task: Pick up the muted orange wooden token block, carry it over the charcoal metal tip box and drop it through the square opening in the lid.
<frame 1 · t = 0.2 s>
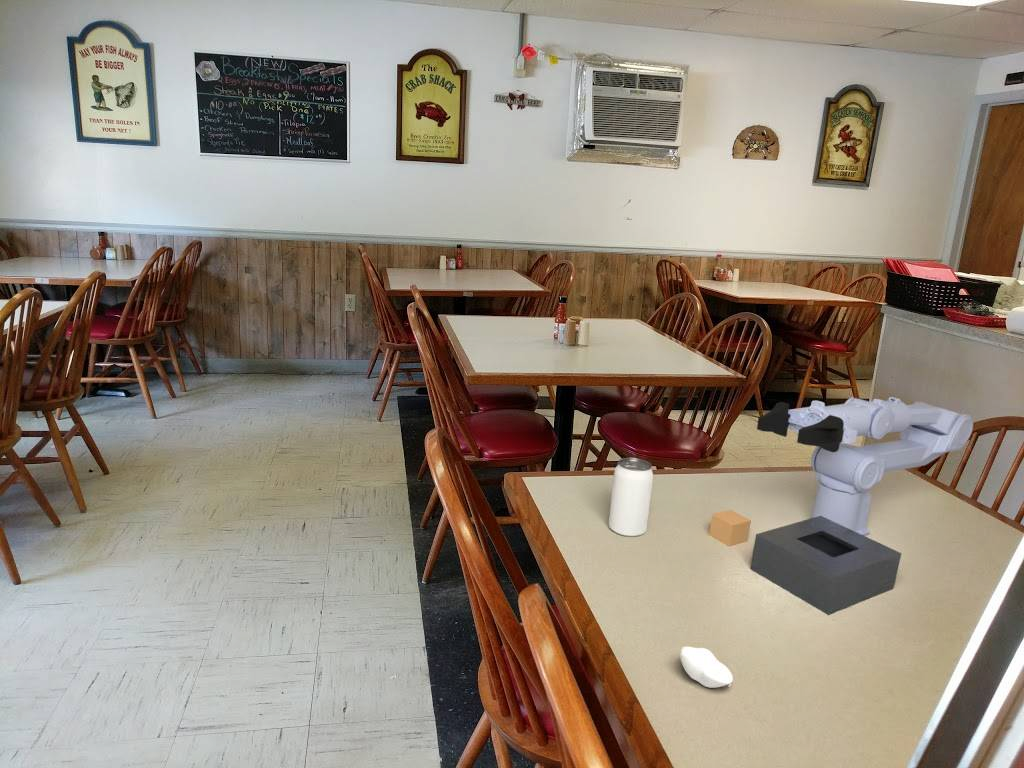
hand: (779, 430, 114), 21 cm above the table, tool horizontal, fingers open, 7 cm apart
token: (728, 538, 124), on the table
dumpling: (703, 682, 87), on the table
can: (627, 530, 124), on the table
tip box: (820, 578, 112), on the table
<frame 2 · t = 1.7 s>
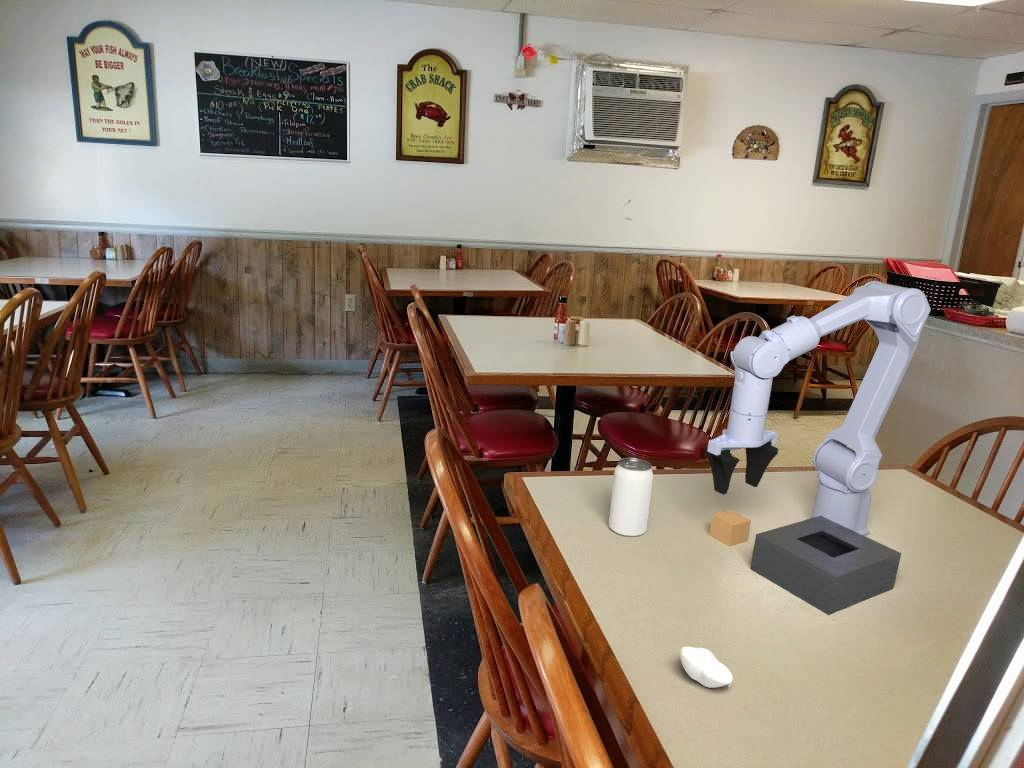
hand: (736, 488, 121), 9 cm above the table, tool pointing down, fingers open, 7 cm apart
nothing on the table moved.
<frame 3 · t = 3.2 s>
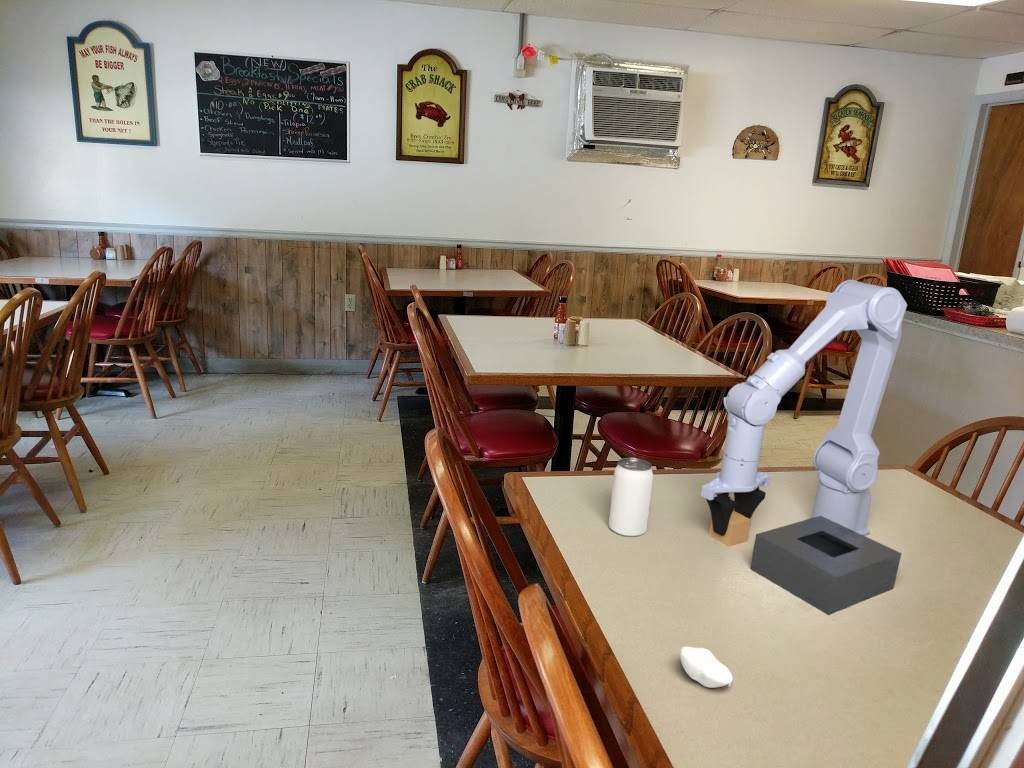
hand: (729, 530, 123), 1 cm above the table, tool pointing down, fingers closed on token, 4 cm apart
token: (728, 538, 124), on the table, touching gripper
everything else where it was.
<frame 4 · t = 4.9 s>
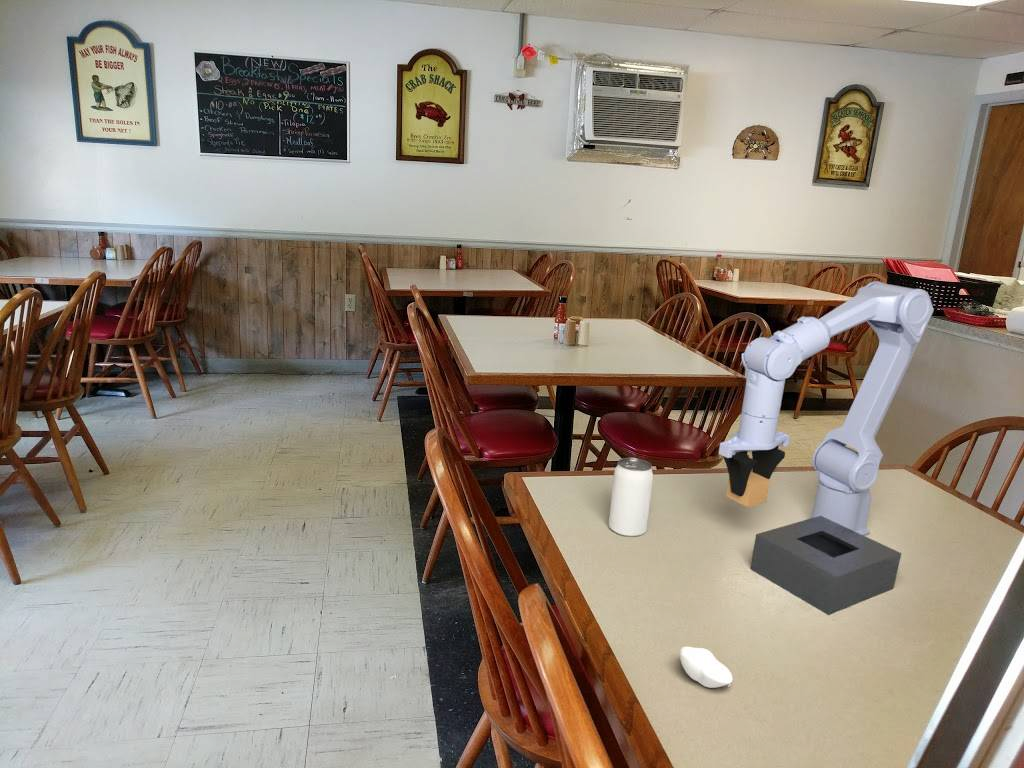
hand: (747, 491, 120), 9 cm above the table, tool pointing down, fingers closed on token, 4 cm apart
token: (746, 499, 120), point 8 cm above the table, touching gripper
everything else where it was.
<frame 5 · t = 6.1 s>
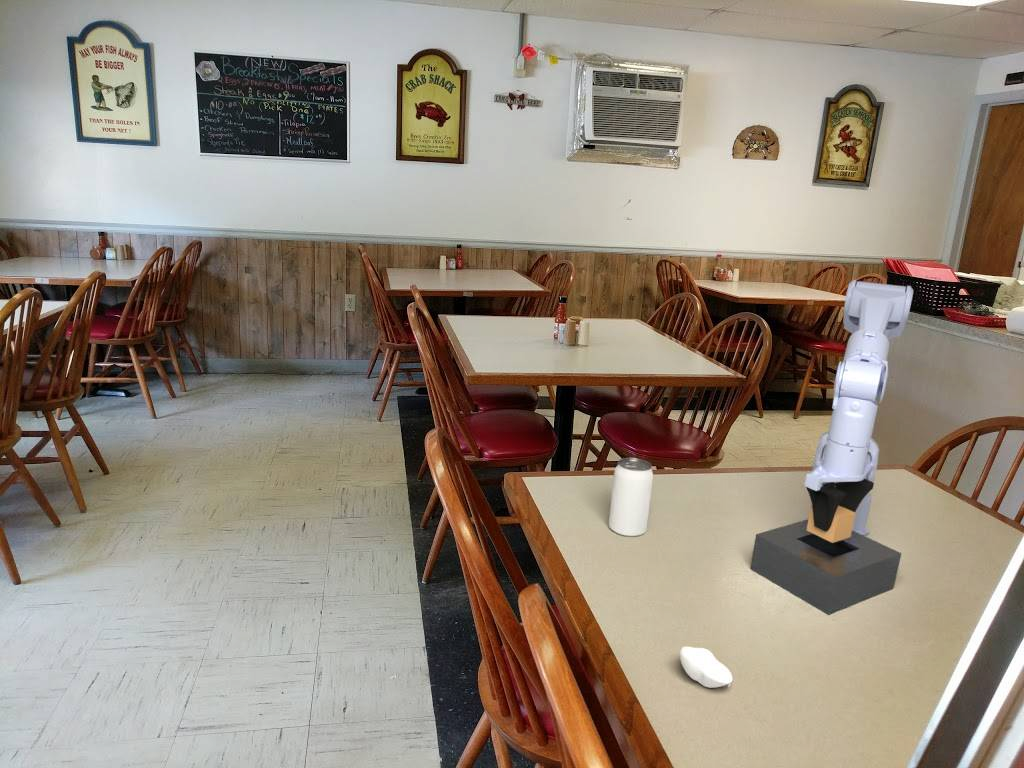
hand: (831, 525, 110), 9 cm above the table, tool pointing down, fingers closed on token, 4 cm apart
token: (828, 533, 110), point 8 cm above the table, touching gripper
everything else where it was.
when the fingers open (8 cm above the table, at t = 6.7 s): token drops 6 cm, resting on tip box.
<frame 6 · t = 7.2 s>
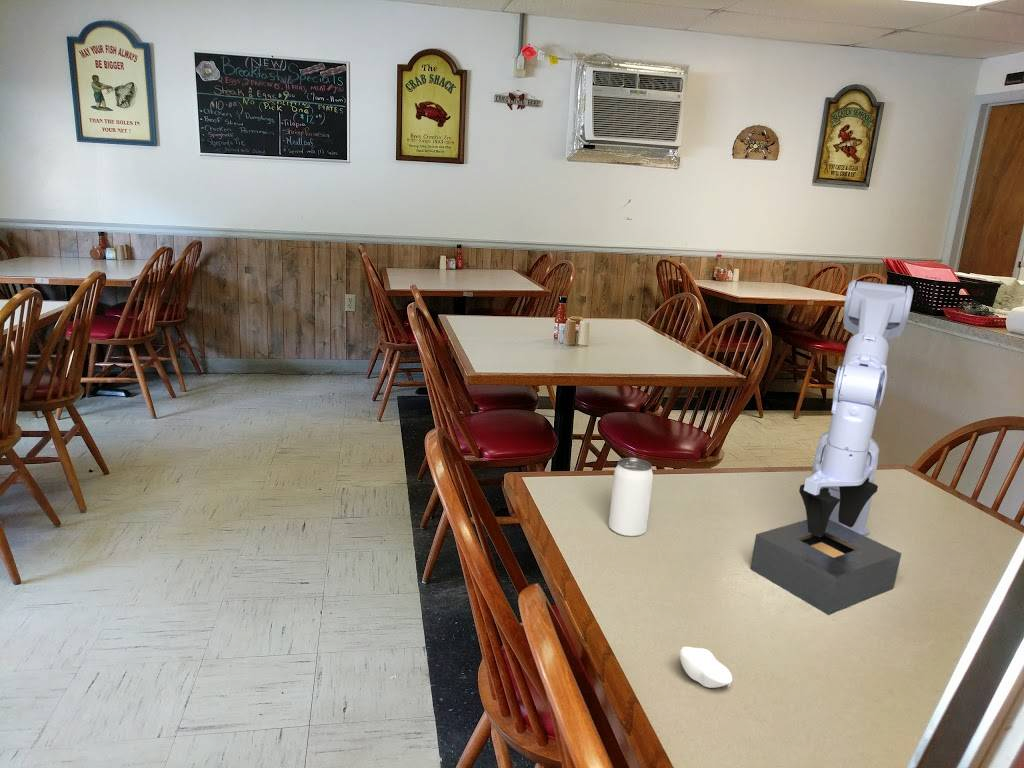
hand: (830, 529, 110), 8 cm above the table, tool pointing down, fingers open, 7 cm apart
token: (820, 574, 112), point 1 cm above the table, touching tip box
everything else where it was.
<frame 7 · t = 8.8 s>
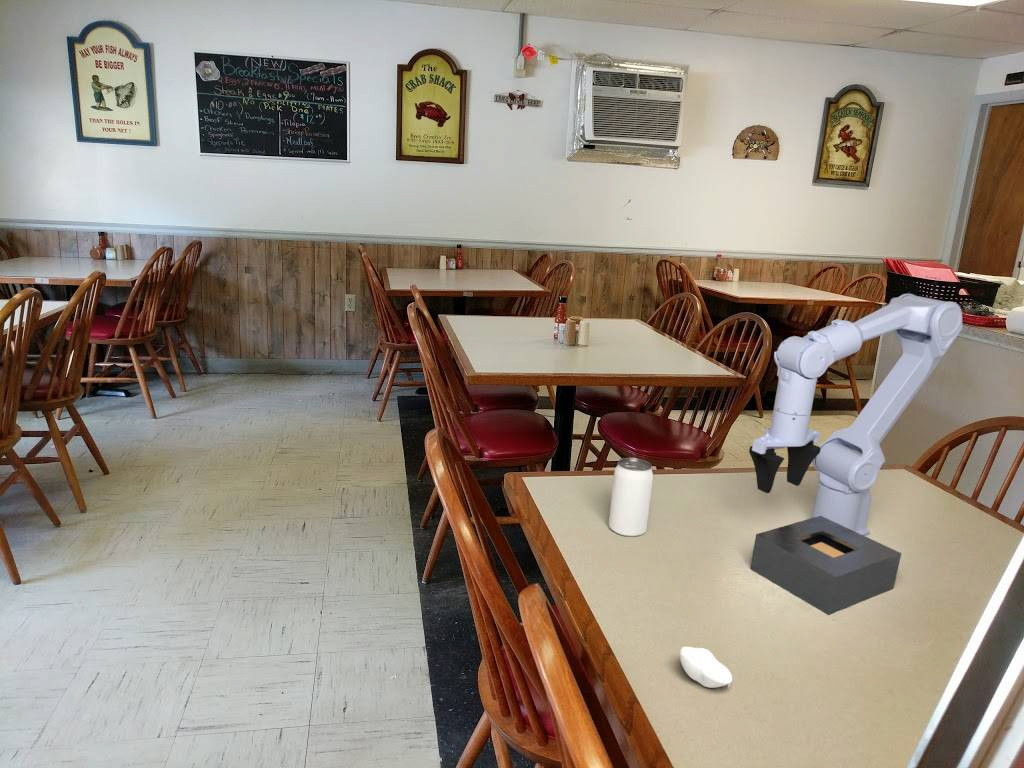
hand: (778, 487, 122), 9 cm above the table, tool pointing down, fingers open, 7 cm apart
nothing on the table moved.
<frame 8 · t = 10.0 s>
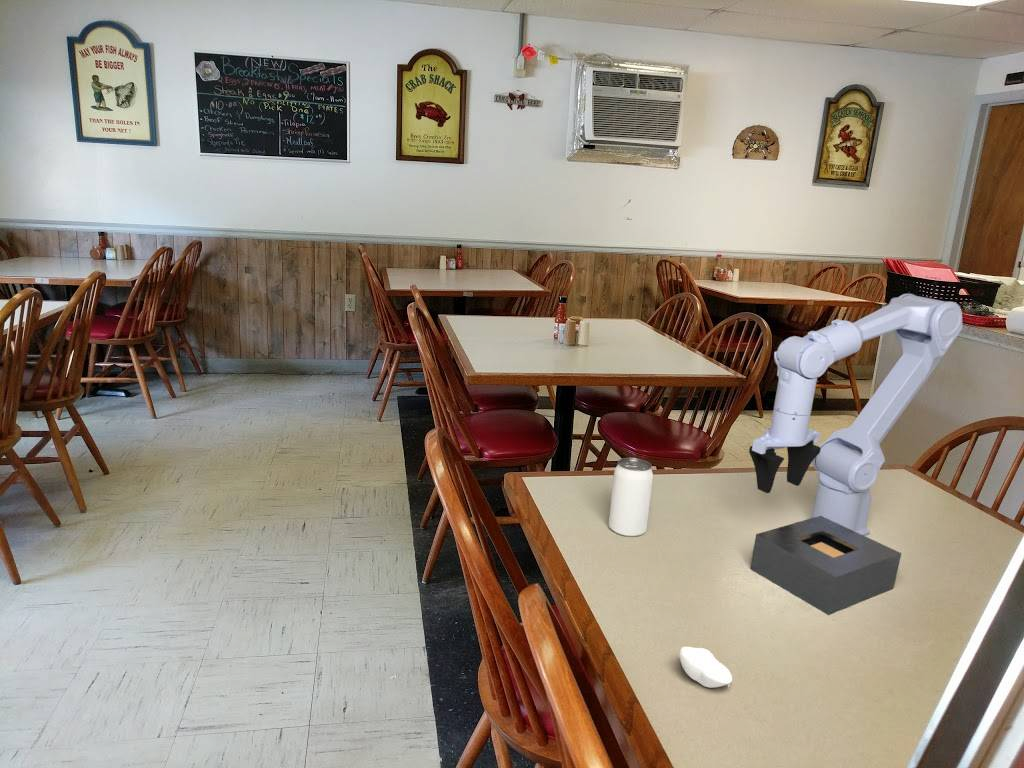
hand: (778, 487, 122), 9 cm above the table, tool pointing down, fingers open, 7 cm apart
nothing on the table moved.
at the end: token inside the target area on the tip box (0.2 cm from its centre), point 0.6 cm above the tip box's base; the gripper is holding nothing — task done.
